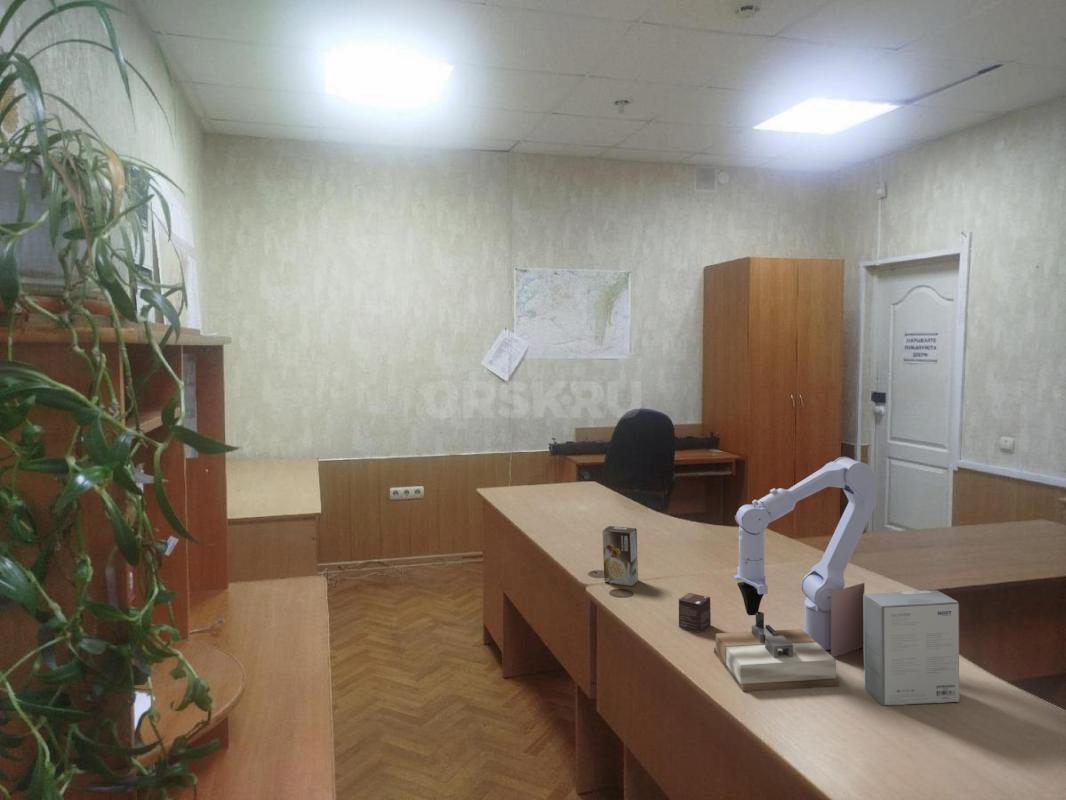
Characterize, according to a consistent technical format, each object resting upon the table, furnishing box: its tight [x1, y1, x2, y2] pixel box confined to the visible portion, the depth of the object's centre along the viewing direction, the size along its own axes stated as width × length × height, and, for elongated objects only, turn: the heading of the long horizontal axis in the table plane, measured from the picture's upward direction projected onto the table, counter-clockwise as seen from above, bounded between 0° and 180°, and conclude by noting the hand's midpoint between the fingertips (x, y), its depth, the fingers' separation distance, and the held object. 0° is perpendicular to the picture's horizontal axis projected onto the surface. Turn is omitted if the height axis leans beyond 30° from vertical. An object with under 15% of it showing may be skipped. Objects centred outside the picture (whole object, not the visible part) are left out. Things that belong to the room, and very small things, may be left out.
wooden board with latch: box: [713, 624, 839, 692], centre depth 156 cm, size 19×20×8 cm
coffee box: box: [602, 525, 639, 587], centre depth 216 cm, size 9×6×16 cm
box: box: [678, 592, 712, 633], centre depth 180 cm, size 6×6×7 cm
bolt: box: [754, 611, 773, 640], centre depth 161 cm, size 7×2×4 cm, turn 3°
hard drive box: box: [863, 589, 960, 706], centre depth 142 cm, size 16×8×20 cm, turn 92°
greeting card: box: [830, 582, 866, 665], centre depth 160 cm, size 11×7×15 cm, turn 119°
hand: (751, 614), depth 168 cm, fingers closed
